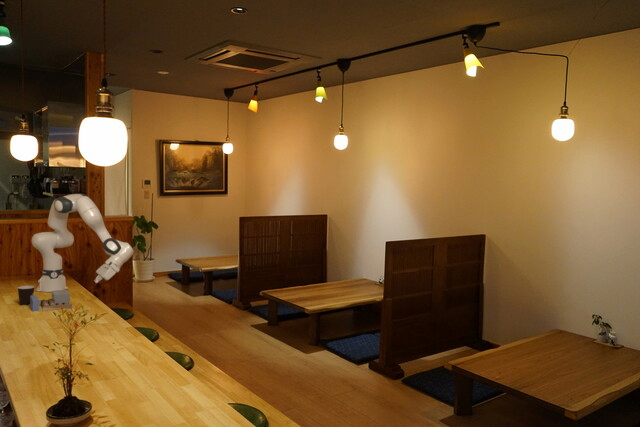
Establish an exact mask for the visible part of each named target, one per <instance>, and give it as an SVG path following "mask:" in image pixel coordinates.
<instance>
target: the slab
mask: <svg viewBox="0 0 640 427" xmlns="http://www.w3.org/2000/svg"><path fill="white" fill-rule="evenodd" d="M50 299H52V301H53V302H54V304H56V303H67V302H69V303H70V302H71V294H70V292H69V291H68V289H64V290H56V291H52V292H51V298H50Z"/></svg>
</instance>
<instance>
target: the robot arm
mask: <svg viewBox="0 0 640 427" xmlns="http://www.w3.org/2000/svg"><path fill="white" fill-rule="evenodd" d="M74 212H78V214H79V216H80V217H81V218H82V220H83V221H84V223H85V224H86V225H88V227H89V228H90V229H91V230H93V232H94V233H96V235H97V237H98V238H99V239H100V241H101V243H102V248H103V251H104V253H105V254H106V256H107V257H108V259H106V260H105V261H104V264H102V265H101V266H99V267H98V269H96V271H95V273H96V274H97V276H96V277H95V279H94V280H93V282H95V283H96V284H98V283H99V282H100V281H101V280H105V281H109V280H110V279H111V278H113V276H115V275H116V273H119V272H120V270H121V268H122V267H123V264H124V263H126V262H127V261H129V259H130V258H131V257H132V256H133V255H134V253H135V249H134V248H133V246H132V245H131V244H130V243H129V242H125V241H124V242H123V241H121V240H118V239H116V238H113V237H112V236H111V234H110V233H109V231H108V230H107V228H106V225H105V222H104V219H103V215H102V213H101V212H100V209H99V208H98V206H97V205H96V203H95V202H94V201H93V200H92V199H91V198H90V197H89V196H88V195H87V194H85V193H72V194H71V193H70V194H67V195H64V196H59V197H57V198H55V199H54V200H53V202H52V204H51V206H50V210H49V212H48V213H49V215H48V218H47V225H48V227H49V228H51V229H52V230H54V231H42V232H37V233H34V234H33V236H32V237H31V245H32V247H34V248H35V249H36V250H37V251H39V252H40V254H41V256H42V263H43V265H42V266H43V269H42V272H41V273H42V275H41V277H40V279H38V280H37V281H38V282H37V283H38V285H37V287H36V289H35V290H36V292H45V293H50V292H51V293H52V291H56V290H68V289H69V287H68V286H67V285H66V276H65V275H64V274H63V273H64V268H63V257H62V256H61V254H59V253H57V252H55V250H54V249H61V248H62V249H63V248H67V247H71V246H72V245H73V244H74V241H75V237H74V235H73V233H72V232H70V231H69V229H68V228H67V227H68V226H67V224H68V218H69V214H70V213H74Z"/></svg>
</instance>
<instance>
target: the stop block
mask: <svg viewBox="0 0 640 427" xmlns="http://www.w3.org/2000/svg"><path fill="white" fill-rule="evenodd" d="M29 307H30V309H31V311H32V312H40V305H39V297H38V296H37V295H36V294H33V296H30V305H29Z"/></svg>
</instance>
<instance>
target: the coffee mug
mask: <svg viewBox="0 0 640 427" xmlns="http://www.w3.org/2000/svg"><path fill="white" fill-rule="evenodd" d="M34 292H35V286H34V285H23V286H22V285H21V286H18V287H17V295H18V301H19V306H30V296H33V295H35V294H34Z"/></svg>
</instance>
